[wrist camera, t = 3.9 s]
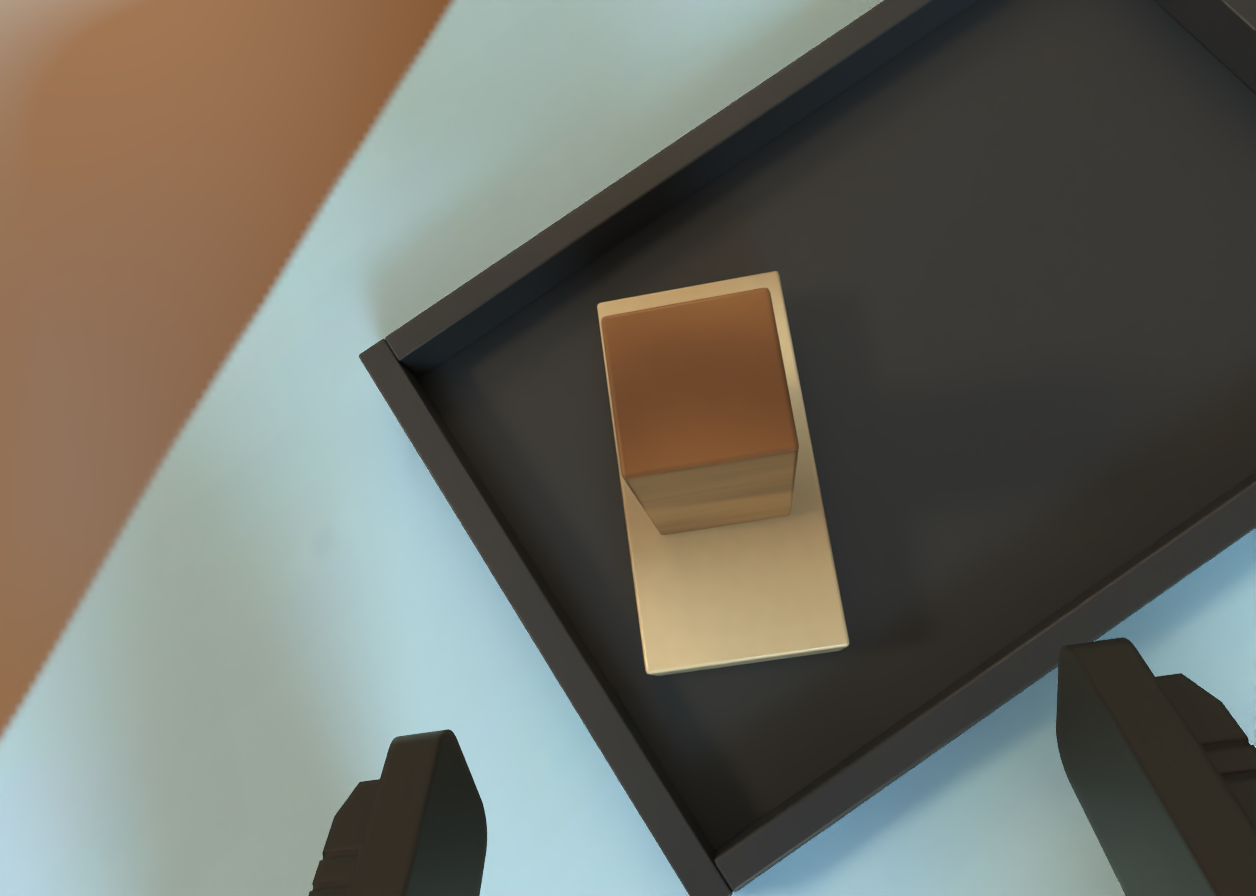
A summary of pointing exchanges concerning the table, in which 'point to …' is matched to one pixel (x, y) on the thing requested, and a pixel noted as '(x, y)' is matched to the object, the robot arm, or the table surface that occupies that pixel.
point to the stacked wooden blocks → (718, 478)
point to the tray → (887, 388)
